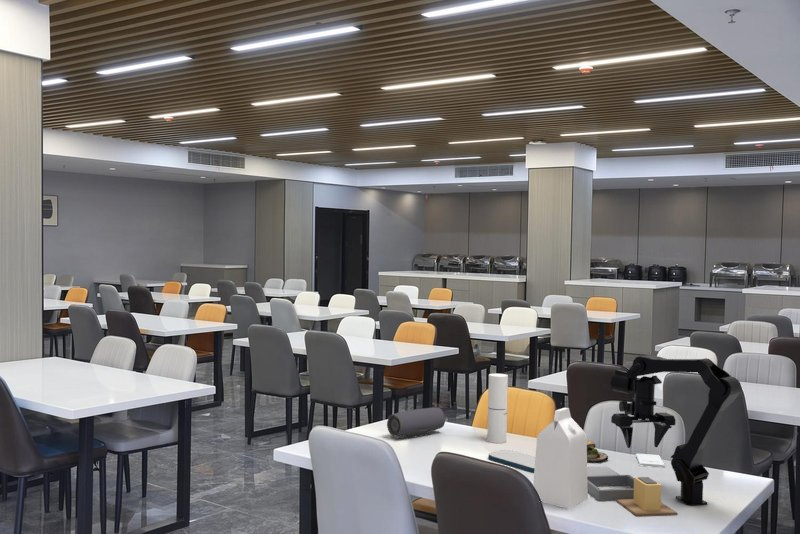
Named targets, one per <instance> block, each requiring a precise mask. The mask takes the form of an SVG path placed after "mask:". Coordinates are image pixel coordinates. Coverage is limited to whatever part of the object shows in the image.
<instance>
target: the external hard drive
mask: <svg viewBox="0 0 800 534" xmlns="http://www.w3.org/2000/svg"><path fill="white" fill-rule="evenodd" d="M535 457H536V456H534V455H529V454H527V453H526V454H525V453H523V452H519V451H514V450H510V449H502V450H498V451H497V450H496V451H493V452H489V453H488V460H490V461H491V462H495V463H498V464H502V465H504V466H505V465H506V466H509V467H512V468H514V469H515V468H516V469H518V470H522V471H525V472H529V473H532V474H534V469H535Z"/></svg>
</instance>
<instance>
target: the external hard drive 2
mask: <svg viewBox="0 0 800 534" xmlns="http://www.w3.org/2000/svg"><path fill="white" fill-rule="evenodd" d="M635 456H637V459H638V461H637V463H638V462H639V463H638V465H639V464H640V465H643V466H642V467H647V466H654V467H653V468H660V467H661V468H662V469H663V468H664V469H665V468H666V465H665V463H664V461H663V458H662V457H661V456H660V455H659V454H648V453H635ZM637 459H636V460H637ZM640 465H639V466H640ZM661 468H660V469H661Z"/></svg>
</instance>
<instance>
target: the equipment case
mask: <svg viewBox="0 0 800 534" xmlns="http://www.w3.org/2000/svg"><path fill="white" fill-rule="evenodd" d="M634 478H635V477H633V476H632V475H630V474H619V472H616V471H615V470H613V469H612V468H610V467H609V466H607V465H606V466H605V465H603V466H602V465H600V466H595V465H594V466H587V488H588V495H591V497H593V498H594V499H595V500H597V501H598V502H610V501H611V502H612V501H615V502H617V500H621V499H634ZM618 486H620V487H621V486H623V487H624V486H627V487H629V488H606V489H605V488H604V489H603V488H602V489H601V488H599V487H618Z"/></svg>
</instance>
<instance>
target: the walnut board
mask: <svg viewBox="0 0 800 534" xmlns="http://www.w3.org/2000/svg"><path fill="white" fill-rule="evenodd" d="M633 501H634V499H621V500H617V501H616V503H617V504H619V505H620V506H621V507H623V508H624V509H625V510H627V511H628V512H630V513H631V514H632V515H633V516H635V517H657V516H659V517H660V516H662V517H663V516H678V512H677V511H676V510H675V509H672V508H671V507H669V506H668V505H666V504H665V503H663V502H662V501H661V509H660V510H650V511H645V510H644V509H642V508H641V507H639V506H638V505H637V504H635V503H634V502H633Z"/></svg>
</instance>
